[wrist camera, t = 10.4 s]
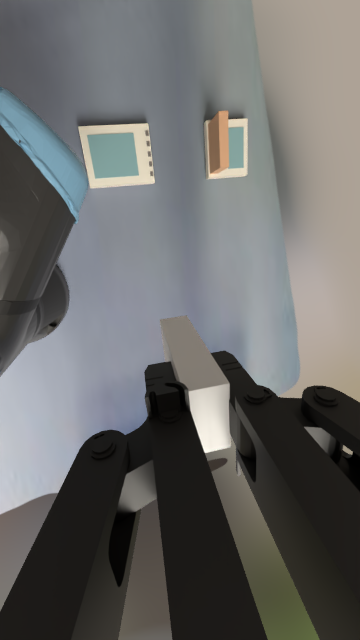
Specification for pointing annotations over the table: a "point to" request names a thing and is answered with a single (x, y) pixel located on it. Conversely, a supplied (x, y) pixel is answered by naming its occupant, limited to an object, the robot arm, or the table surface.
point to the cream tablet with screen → (117, 155)
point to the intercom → (225, 146)
